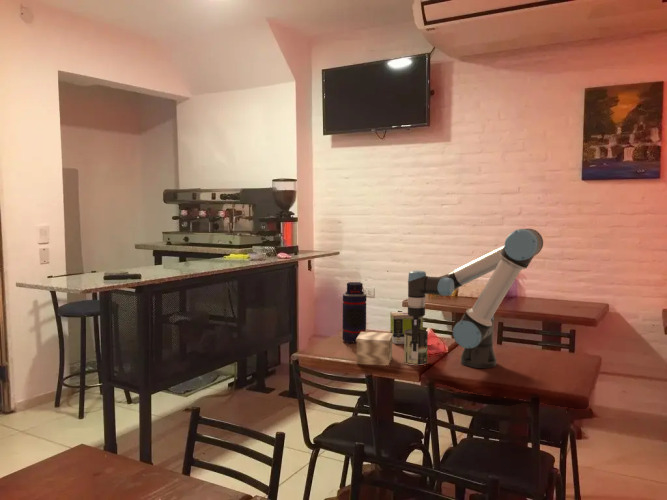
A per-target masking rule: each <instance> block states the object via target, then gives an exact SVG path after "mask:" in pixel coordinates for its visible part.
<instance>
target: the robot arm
mask: <svg viewBox="0 0 667 500" xmlns="http://www.w3.org/2000/svg"><path fill="white" fill-rule="evenodd" d="M543 247H544V239H543V237H542V234H541V233H540V232H539V231H537V230H536V229H534V228H519V229H516V230H514V231H512V232H510V233H509V234H508V235H507V236H506V238H505V241H504V244H503V245H502V246H499V247H498V248H495V249H494V250H492V251H490V252H488V253H486V254H484V255H482V256H480V257H478V258H476V259H474V260H471V261H470V262H468V263H466V264H464V265H462V266H460V267H459V268H457V269H454V270H452V271H451V272H448V273H445V274H444V275H441V276H429V275H427V272H426V271H423V270H410V271H409V272H408V276H407V277H408V278H407V280H408V281H407V298H406V301H407V305H408V306H407V312H408V315H409V316H413V319H412V320H411V324H412V341H411V342H410V344H412V353H411V359H418V330H420V325H421V319H420V317H422V316H423V317H424V316H425V315H426V294H427V295H437V296H443V297H445V296H447V297H448V296H451V295H453V293H454V292H455V290H457V289H459V288H460V287H463V286H464V285H466V284H469V283H470V282H472V281H475V280H477V279H479V278H481V277H483V276H485V275H487V274H490V273H491V272H492V274H491V276H490V277H489V279H488V281H487V283H486V284H485V286H484V288H483V289H482V291H481V292H480V294H479V296H478V298H477V299H476V301H475V303H474V304H473V306H472V307H471V308H468V309H466V311H465V312H464V313H463V315H462V316H461V319H460V320H459V321H458V322H457V323H455V325H454V327H453V329H452V335H453V336H452V337H453V339H454V341H455V343H456V344H457V345H459V347H461V348H463V350H462V353H461V356H460V364H462V365H463V366H466V367H468V368H469V367H470V368H474V369H490V368H491V369H492V368H495V367H496V366H497V357H496V354H495V351H494V345H493V344H494V322H495V319H494V315H495V313H496V312H497V310H498V308H499V306H500V305H501V303H502V302H503V300H504V298H505V296H506V295H507V294H508V292H509V291H510V289H511V286H512V285H513V284H514V282H515V280H516V279H517V277H518V275H520V272H521V271H522V270H525V269H527V268H528V267H529V266H530V264H531V262H532V260H533V259H534V258H535V256H537V255H538V254H539V253H541V251H542V249H543Z"/></svg>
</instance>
